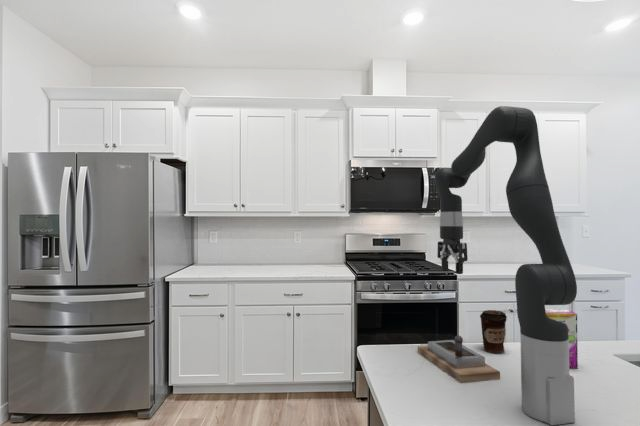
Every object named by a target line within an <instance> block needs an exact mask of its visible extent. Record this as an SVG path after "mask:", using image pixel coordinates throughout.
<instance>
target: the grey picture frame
mask: <svg viewBox="0 0 640 426" xmlns="http://www.w3.org/2000/svg"><path fill="white" fill-rule="evenodd" d="M427 345H428V350H429V351H430V352H432V353H433V354H435V355H437V356H438V357H440V358H441V359H443V360H444V361H446V362H447V363H449V364H450V365H452V366H453V367H455V368H456V369H462V368H473V367H485V364H486V357H485V356H484V355H481V354H480V353H478V352H476V351H474V350H472V349H471V348H469V347H467V346H466V345H464V344H462V356H463V357H457V356H456V355H454V354H452V353H451V352H449V351H448V350H452V351H454V352H455V341H454V339H445V340H435V341H434V340H430V341H427Z"/></svg>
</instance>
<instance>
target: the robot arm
mask: <svg viewBox="0 0 640 426" xmlns="http://www.w3.org/2000/svg"><path fill="white" fill-rule="evenodd" d="M494 142H498V143H509V144H513V146H514V150H515V155H516V162H515V166H514V167H513V170H512V172H511V174H510V176H509V179H508V181H507V183H506V186H505V195H506V200H507V203H508V209H509V213H510V215H511V217H512V219H513V220H514V221H515V223H516V224H517V225H518V226H519V227H520V229H521V230H522V231H523V232H524V233H525V234H526V235H527V236H528V237H529V238H530V239H531V241H532V243H534V245H535V247H536V249H537V251H538V254H539V257H540V259H541V263H524V264H522V265H519V267H518V269H516V272H515V280H514V283H515V284H514V285H515V288H514V289H515V297H516V312H517V314H516V315H517V319H518V322H519V323H518V324H519V328H520V329H519V331H520V334H519V335H520V336H519V337H520V379H521V380H520V381H521V382H520V385H521V387H520V390H521V409H522V411H523V412H524V413H525V415H528V416H529V417H531V418H532V419H535V420H536V421H541V422H542V423H546V424H549V425H550V426H557V425H564V424H572V423H575V422H576V413H575V411H576V409H575V407H576V405H575V378H574V376H573V375H570V368H569V339H568V338H569V336H568V328H567V326H566V325H565V324H563V323H562V322H559V321H556V320H553V319H550V318H549V317H547V315H546V311H545V309H546V306H566V305H570V304H572V303H573V302H575V299H576V298H577V294H578V291H577V290H578V286H577V279H576V275H575V273H574V269H573V266H572V264H571V261H570V258H569V256H568V253H567V251H566V248H565V244H564V242H563V239H562V234H561V232H560V229H559V226H558V221H557V218H556V215H555V214H556V213H555V209H554V203H553V200H552V195H551V192H550V186H549V183H548V181H547V177H546V173H545V169H544V164H543V159H542V153H541V147H540V136H539V130H538V122H537V118H536V115H535V114H534V112H533V111H532V110H531V109H529V108H526V107H517V106H507V105H504V106H503V105H500V106H497V107H495V108H494V109H493V110H491V111H490V112H489V113H488V115H487V116H486V117H485V119H484V121H483V122H482V123H481V125H480V126H479V128H478V130H477V131H476V132H475V133H474V135H473V137H472V138H471V140H470V142H469V143H468V145H467V146H466V147H465V148H464V150H462V152H461V153H460V154H458V155H457V156H456V158H454V160H453V161H452V163H451V166H450V167H440V168H438V169H437V170H436V172H435V174H434V182H435V187H436V190H437V194H438V198H439V202H440V205H439V206H440V207H439V208H440V212H439V214H440V215H439V238H440V241H438V242H437V259H439V260H440V261H441V271H442V272H448V271H449V259H450V257H452V258H454V261H455V274H456V275H463V273H464V263H465V262H467V261H468V244H467V242H461V240H463V239H464V217H463V200H462V197H461V196H460V195H458V194H455V193H453V192H452V191H451V189H460V188H463V187H465V186H466V185H467V183H468V181H469V179H470V178H471V175H472V174H473V173H474V172H475V171H477V170H478V169H479V168H480V167H481V166H482V164H483V163H484V162H485V159H486V155H487V153H486V148H487V147H488V146H490V145H492V144H493V143H494ZM441 240H443V241H441Z"/></svg>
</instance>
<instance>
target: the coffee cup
mask: <svg viewBox="0 0 640 426" xmlns="http://www.w3.org/2000/svg"><path fill="white" fill-rule="evenodd" d="M479 318H480V324H481V325H480V326H481V335H482V345H483V350H484V351H486V352H489V353H493V354H503V353H505V345H504V344H505V340H506V331H507V330H506V322H507V318H508V316H507V315H506V313H505V312H504V311H501V310H496V309H494V310H493V309H491V310H490V309H487V310H483V311H482V313H480V315H479Z"/></svg>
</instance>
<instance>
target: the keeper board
mask: <svg viewBox="0 0 640 426" xmlns="http://www.w3.org/2000/svg"><path fill="white" fill-rule="evenodd" d="M453 340H454V341H455V352H454V351H452V350H448V351H449V352H451V353H452V354H454V355H456V356H457V357H463V356H462V345H463V341H464V339H463V337H462V336H461V335H456V336H454V339H453ZM417 353H418V354H420V355H421V356H422V357H424V358H425V359H427V360H428V361H430V362H431V363H432V364H433V365H435V366H436V367H438V368H439V369H440V370H443V372H445V373H446V374H447V375H450V377H452V378H454V379H455V381H458V382H459V383H461V384H463V383H464V384H465V383H472V382H484V381H494V380H501V371H500V370H498V369H496V368H494V367H492V366H491V365H489V364H487V363H485V367H473V368H462V369H456V368H455V367H453V366H452V365H450V364H449V363H447V362H446V361H444V360H443V359H441V358H440V357H438V356H437V355H435V354H433V353H432V352H430V351H429V350H428V344H427V345H418V346H417Z"/></svg>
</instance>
